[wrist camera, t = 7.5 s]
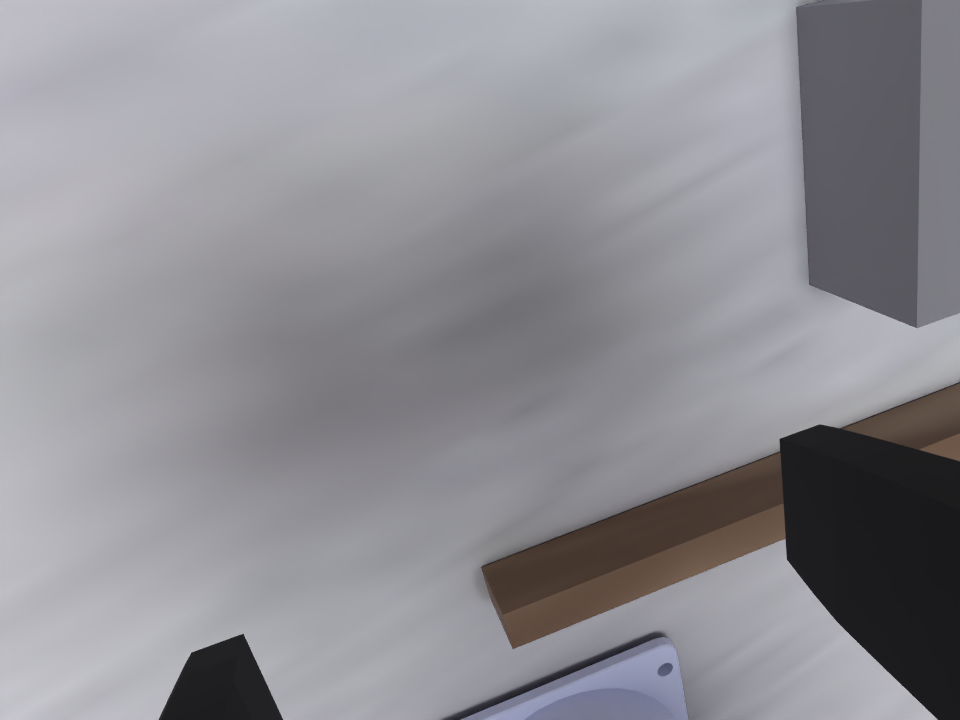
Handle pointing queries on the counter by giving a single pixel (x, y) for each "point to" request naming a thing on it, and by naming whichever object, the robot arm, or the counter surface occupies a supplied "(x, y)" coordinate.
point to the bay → (680, 532)
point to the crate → (883, 153)
